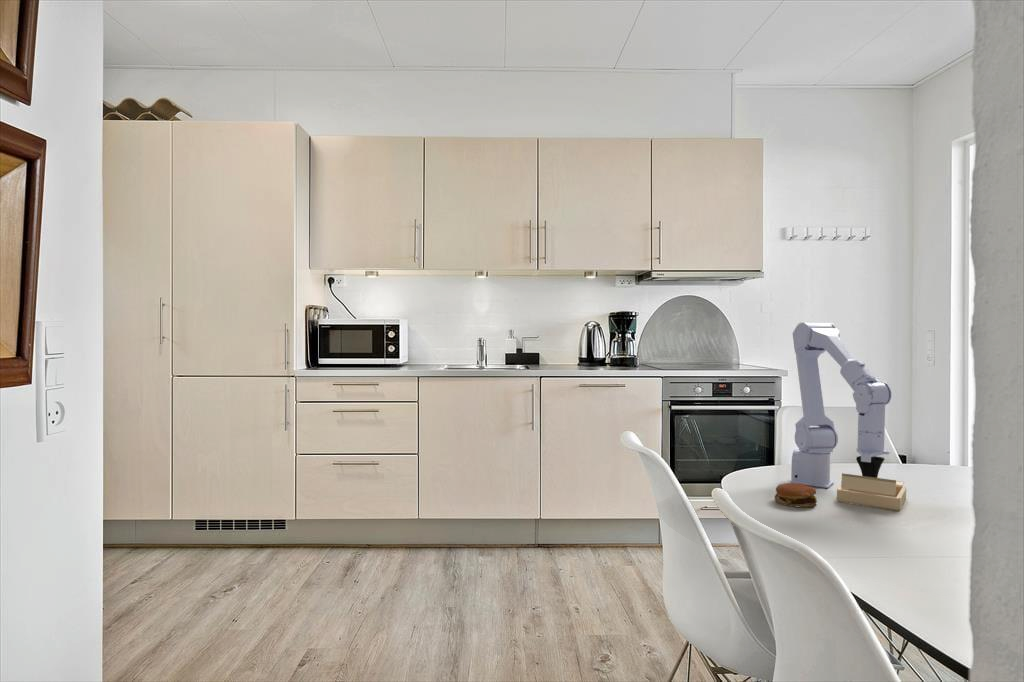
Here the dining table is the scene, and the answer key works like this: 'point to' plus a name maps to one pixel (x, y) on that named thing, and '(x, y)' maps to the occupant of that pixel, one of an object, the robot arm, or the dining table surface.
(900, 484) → the flap
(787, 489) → the burger
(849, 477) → the flap
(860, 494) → the carton
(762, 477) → the dining table surface
